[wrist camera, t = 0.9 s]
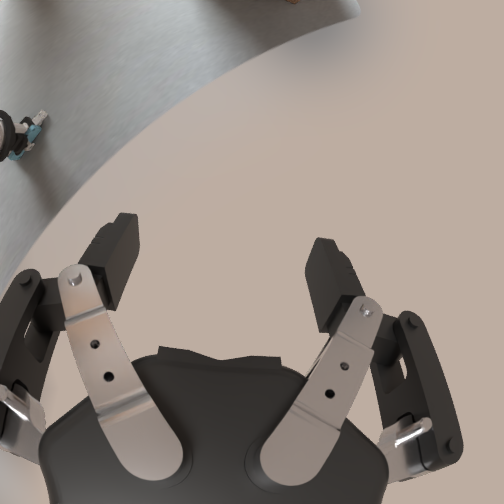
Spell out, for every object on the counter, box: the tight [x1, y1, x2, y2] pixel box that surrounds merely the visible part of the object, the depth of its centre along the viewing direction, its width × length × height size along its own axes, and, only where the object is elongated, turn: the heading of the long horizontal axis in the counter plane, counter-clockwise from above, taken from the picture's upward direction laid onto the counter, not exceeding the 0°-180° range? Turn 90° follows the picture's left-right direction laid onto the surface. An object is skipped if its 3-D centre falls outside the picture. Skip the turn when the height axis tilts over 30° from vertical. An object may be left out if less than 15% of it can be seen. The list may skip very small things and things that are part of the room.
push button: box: [0, 110, 48, 162], centre depth 16 cm, size 7×5×10 cm
